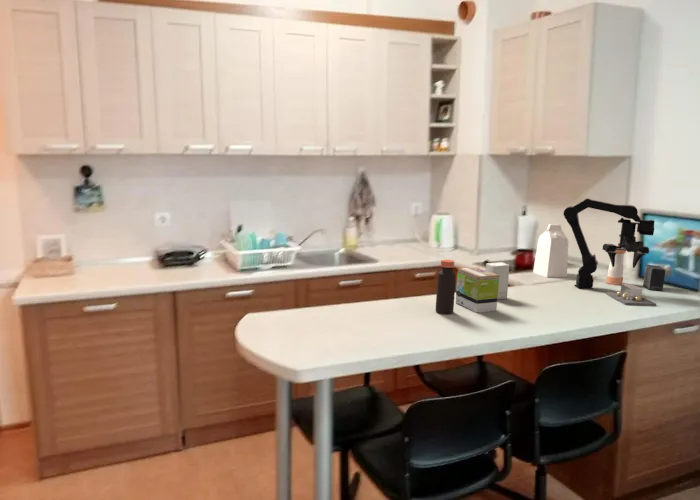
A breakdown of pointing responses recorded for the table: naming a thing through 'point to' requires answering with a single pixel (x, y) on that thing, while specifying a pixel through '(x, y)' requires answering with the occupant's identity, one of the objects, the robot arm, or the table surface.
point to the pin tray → (625, 301)
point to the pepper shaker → (616, 269)
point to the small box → (654, 277)
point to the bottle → (445, 288)
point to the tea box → (477, 289)
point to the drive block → (631, 291)
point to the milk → (552, 253)
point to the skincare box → (500, 277)
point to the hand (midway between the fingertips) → (623, 267)
